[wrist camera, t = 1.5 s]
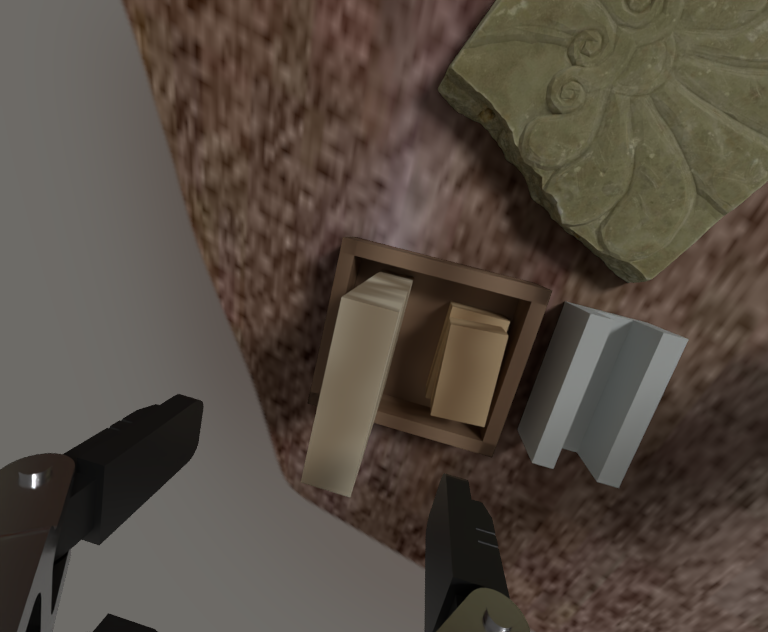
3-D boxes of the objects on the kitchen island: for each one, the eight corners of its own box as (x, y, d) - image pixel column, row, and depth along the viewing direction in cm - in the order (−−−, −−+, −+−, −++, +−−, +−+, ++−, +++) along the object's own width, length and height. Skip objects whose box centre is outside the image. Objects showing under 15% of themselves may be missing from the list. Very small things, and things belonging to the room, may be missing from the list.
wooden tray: (535, 283, 27) (552, 290, 23) (484, 429, 30) (492, 457, 26) (355, 236, 28) (342, 236, 24) (323, 382, 31) (307, 403, 27)
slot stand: (646, 322, 27) (688, 339, 22) (591, 450, 29) (618, 488, 25) (565, 301, 27) (590, 313, 23) (517, 429, 30) (531, 462, 25)
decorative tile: (628, -164, 22) (665, -241, 18) (863, 68, 23) (942, 37, 19) (417, 107, 26) (415, 87, 23) (620, 291, 27) (648, 299, 24)
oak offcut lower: (503, 314, 27) (510, 321, 25) (475, 399, 29) (479, 412, 26) (450, 300, 27) (452, 306, 25) (426, 384, 29) (425, 397, 27)
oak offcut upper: (501, 326, 25) (508, 335, 23) (480, 411, 26) (484, 427, 24) (449, 316, 25) (451, 324, 23) (430, 400, 27) (430, 415, 24)
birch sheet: (414, 277, 27) (398, 312, 15) (385, 385, 29) (350, 497, 17) (383, 269, 27) (341, 297, 15) (356, 377, 30) (300, 482, 17)
